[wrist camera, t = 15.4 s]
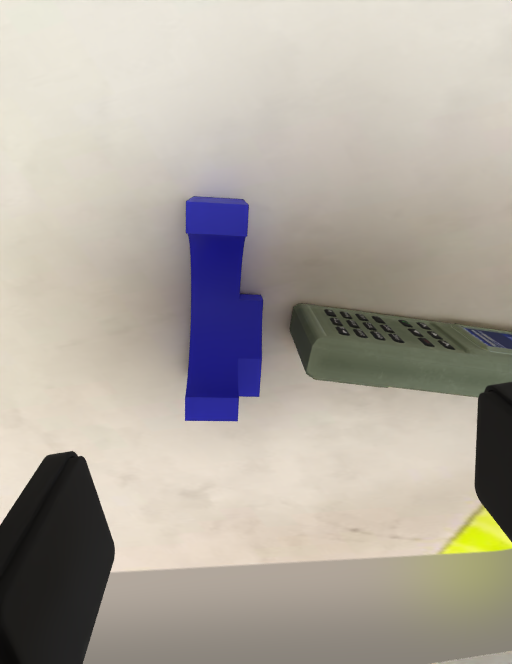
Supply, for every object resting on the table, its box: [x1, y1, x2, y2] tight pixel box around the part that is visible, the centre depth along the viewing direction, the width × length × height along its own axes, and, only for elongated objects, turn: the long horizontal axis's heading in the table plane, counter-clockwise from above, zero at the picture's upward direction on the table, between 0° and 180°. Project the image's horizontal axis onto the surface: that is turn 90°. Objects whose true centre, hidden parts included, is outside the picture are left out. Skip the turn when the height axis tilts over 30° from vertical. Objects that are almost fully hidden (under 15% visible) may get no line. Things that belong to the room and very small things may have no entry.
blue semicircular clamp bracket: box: [185, 196, 263, 421], centre depth 25 cm, size 12×4×6 cm, turn 177°
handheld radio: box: [290, 304, 512, 397], centre depth 28 cm, size 7×3×25 cm
